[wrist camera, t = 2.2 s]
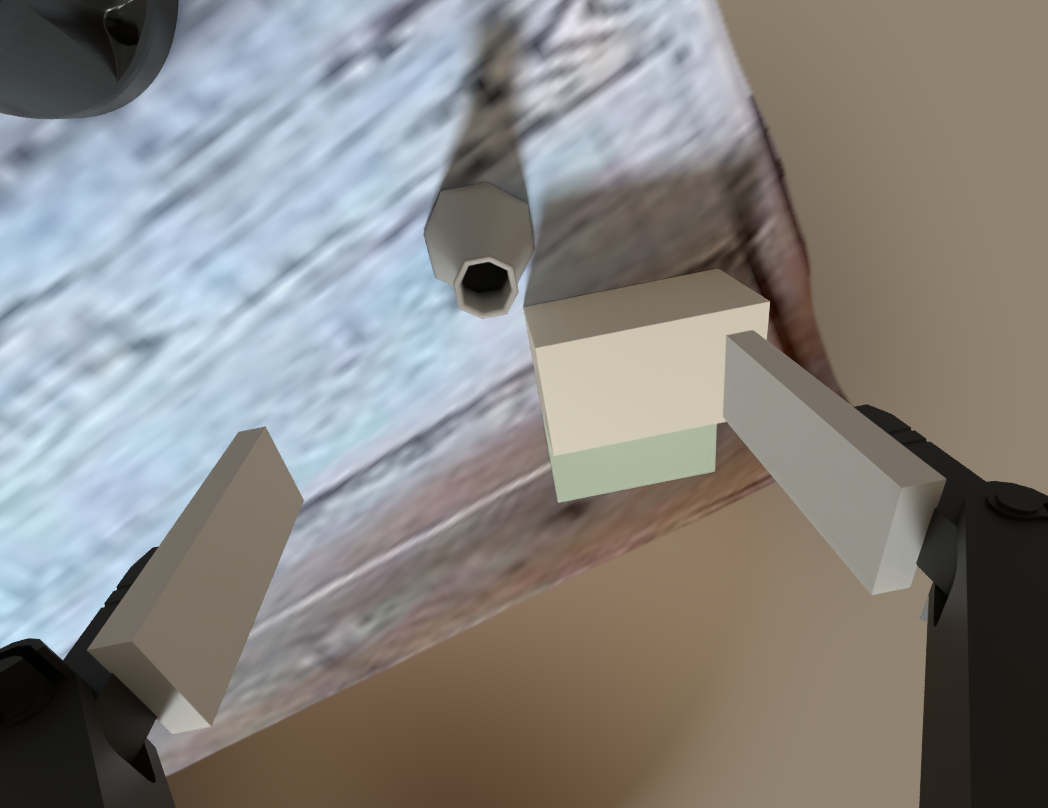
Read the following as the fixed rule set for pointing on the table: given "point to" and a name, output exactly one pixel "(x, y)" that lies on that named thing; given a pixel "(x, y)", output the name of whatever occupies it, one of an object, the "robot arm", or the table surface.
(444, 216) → the flask
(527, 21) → the table surface
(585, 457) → the mat
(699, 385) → the block
